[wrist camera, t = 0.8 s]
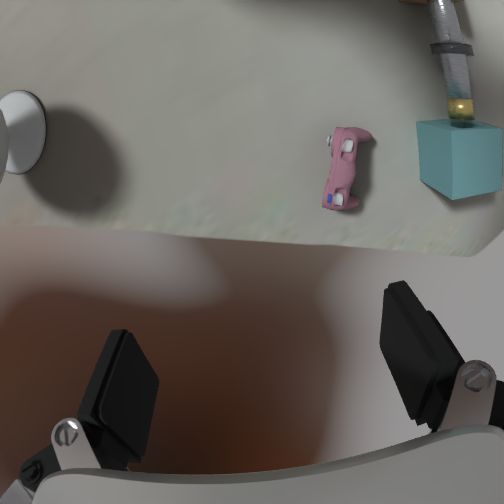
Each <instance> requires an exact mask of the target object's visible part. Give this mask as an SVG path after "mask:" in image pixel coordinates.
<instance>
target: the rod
mask: <svg viewBox="0 0 504 504" xmlns="http://www.w3.org/2000/svg"><path fill="white" fill-rule="evenodd" d="M426 1H427V4H428V7H429V11H430V14H431V18H432V22H433V26H434V30H435V34H436V38H437V43H435V44H431V45H430V46H431V51H432V54H433V55H440V57H441V62H442V68H443V74H444V80H445V87H446V94H447V104H448V113H449V118H451V119H456V120H475V118H474V107H473V98H472V90H471V82H470V75H469V69H468V63H467V57H466V56H474V54H473V49H472V46H471V45H468V44H464V43H463V38H462V34H461V29H460V25H459V21H458V18H457V14H456V10H455V7H454V3H453V0H426Z"/></svg>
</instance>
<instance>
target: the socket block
mask: <svg viewBox="0 0 504 504" xmlns="http://www.w3.org/2000/svg"><path fill="white" fill-rule="evenodd" d="M416 124H417V134H418V146H419V160H420V181H422V182H424V183H426V184H427V185H429V186H431V187H432V188H434V189H435V190H437V191H439V192H440V193H442V194H443V195H445V196H447V197H448V198H450V199H451V200H455V199H460V198H465V197H470V196H475V195H480V194H485V193H490V192H495V191H500V190H502V176H503V128H500V127H496V126H492V125H489V124H485V123H481V122H477V121H473V120H456V119H450V120H433V121H419V122H416Z"/></svg>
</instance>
